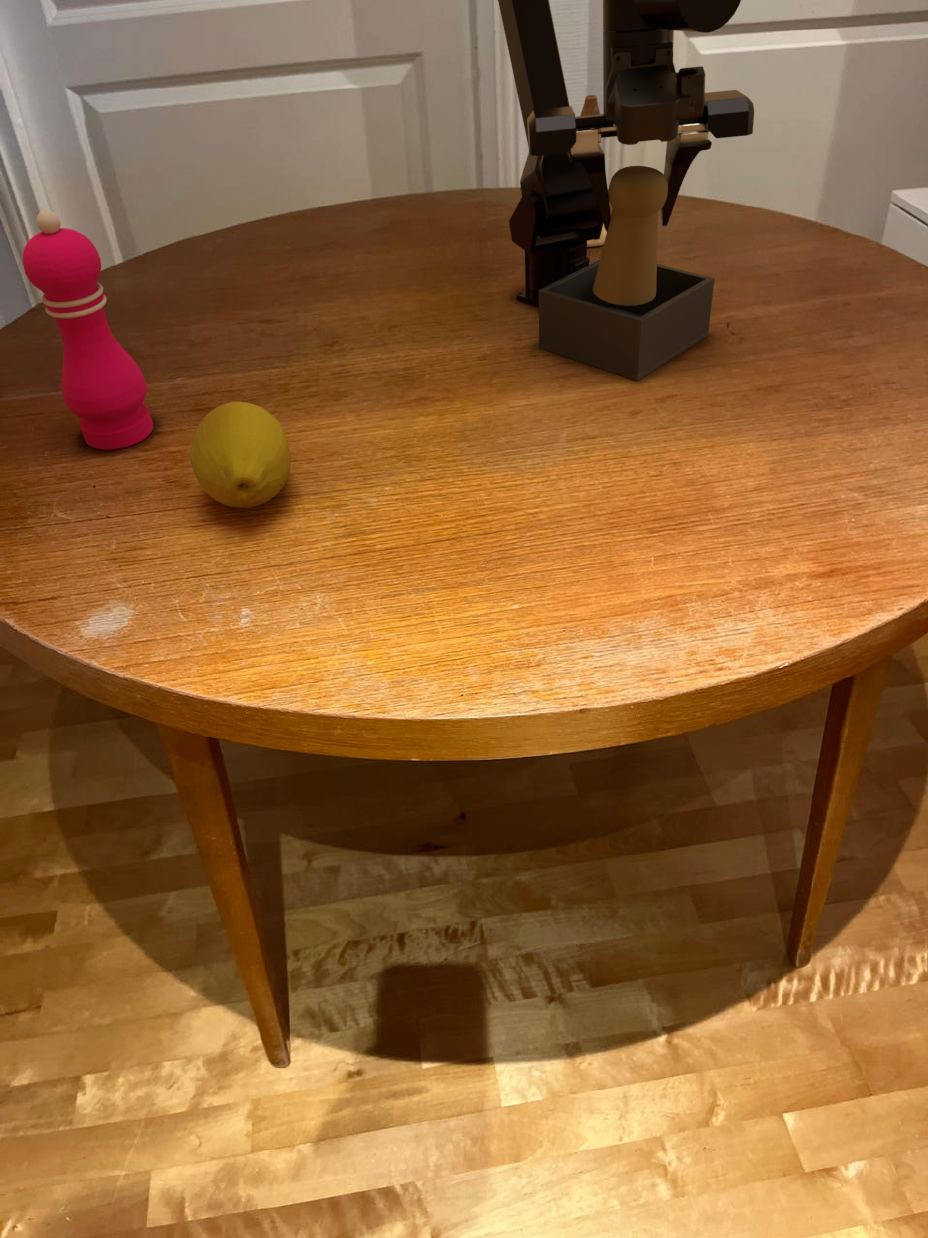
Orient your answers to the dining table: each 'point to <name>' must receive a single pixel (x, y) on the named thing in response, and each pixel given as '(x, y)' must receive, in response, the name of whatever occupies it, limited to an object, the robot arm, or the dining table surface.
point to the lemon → (240, 455)
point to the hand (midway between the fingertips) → (635, 227)
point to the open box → (625, 321)
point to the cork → (631, 237)
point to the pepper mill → (87, 338)
